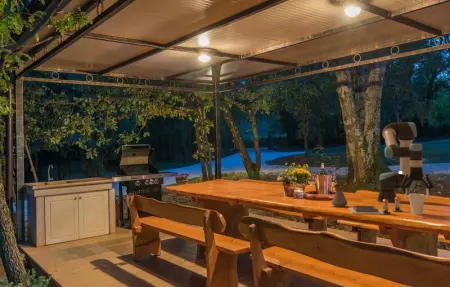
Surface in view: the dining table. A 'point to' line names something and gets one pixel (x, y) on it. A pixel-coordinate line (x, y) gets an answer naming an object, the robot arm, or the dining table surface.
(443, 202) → the dining table surface
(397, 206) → the pegs
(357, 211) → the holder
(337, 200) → the coffee pot
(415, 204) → the foam cup
